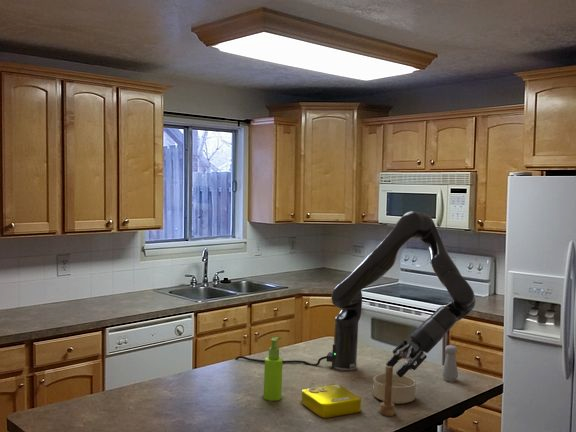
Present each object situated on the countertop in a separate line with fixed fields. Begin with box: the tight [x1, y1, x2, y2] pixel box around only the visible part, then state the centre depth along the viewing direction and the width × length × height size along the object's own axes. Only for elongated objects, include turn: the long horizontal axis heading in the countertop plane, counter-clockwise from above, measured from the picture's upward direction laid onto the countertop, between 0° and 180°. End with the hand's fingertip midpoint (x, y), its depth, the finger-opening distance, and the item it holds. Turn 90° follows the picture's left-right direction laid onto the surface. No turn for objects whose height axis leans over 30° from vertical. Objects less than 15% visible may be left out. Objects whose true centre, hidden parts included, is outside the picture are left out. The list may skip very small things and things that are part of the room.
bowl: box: [372, 373, 417, 405], centre depth 200 cm, size 14×14×6 cm
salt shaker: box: [441, 344, 459, 383], centre depth 220 cm, size 6×6×13 cm
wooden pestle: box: [379, 365, 396, 417], centre depth 185 cm, size 4×4×15 cm
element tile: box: [301, 383, 362, 419], centre depth 189 cm, size 15×15×5 cm
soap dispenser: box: [263, 336, 284, 402], centre depth 196 cm, size 6×7×20 cm
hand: (392, 370), depth 185 cm, fingers open, 8 cm apart
